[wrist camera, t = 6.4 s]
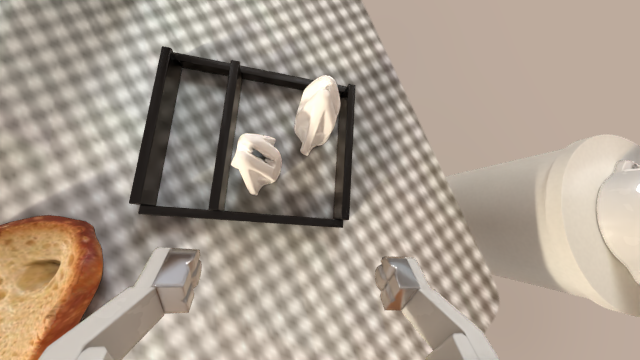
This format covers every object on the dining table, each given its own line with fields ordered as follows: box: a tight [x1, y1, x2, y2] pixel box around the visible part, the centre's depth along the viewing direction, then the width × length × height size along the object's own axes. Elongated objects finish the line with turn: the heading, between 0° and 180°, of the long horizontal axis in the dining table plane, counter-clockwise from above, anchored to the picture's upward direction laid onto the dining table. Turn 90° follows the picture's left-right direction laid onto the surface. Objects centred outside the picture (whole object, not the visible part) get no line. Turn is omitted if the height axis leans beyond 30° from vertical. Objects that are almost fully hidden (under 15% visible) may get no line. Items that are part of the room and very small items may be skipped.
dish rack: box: [129, 46, 355, 228], centre depth 24 cm, size 19×16×3 cm
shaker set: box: [231, 75, 340, 196], centre depth 20 cm, size 12×4×11 cm, turn 130°
